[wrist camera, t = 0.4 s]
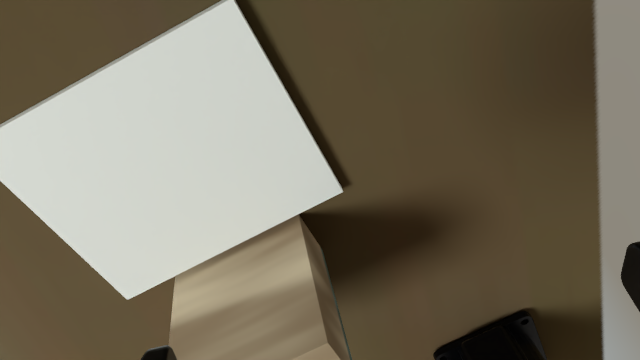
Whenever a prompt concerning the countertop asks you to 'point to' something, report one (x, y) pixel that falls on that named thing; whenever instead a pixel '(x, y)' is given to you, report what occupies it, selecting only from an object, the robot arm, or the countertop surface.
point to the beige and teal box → (260, 302)
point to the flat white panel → (167, 153)
